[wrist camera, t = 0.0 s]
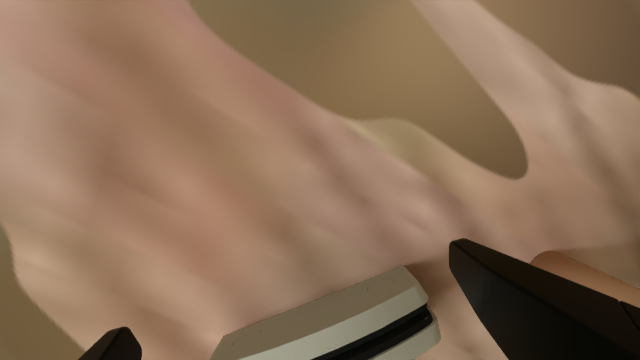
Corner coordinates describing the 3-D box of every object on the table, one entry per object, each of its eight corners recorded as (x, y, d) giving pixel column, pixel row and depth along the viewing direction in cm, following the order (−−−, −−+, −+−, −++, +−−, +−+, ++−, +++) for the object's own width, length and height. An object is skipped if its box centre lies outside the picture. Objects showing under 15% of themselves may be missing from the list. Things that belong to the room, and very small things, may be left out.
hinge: (243, 385, 26) (196, 482, 16) (226, 330, 27) (172, 391, 17) (422, 313, 27) (482, 363, 17) (401, 262, 28) (447, 281, 18)
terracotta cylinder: (551, 297, 28) (672, 374, 19) (519, 281, 28) (630, 353, 19) (574, 261, 28) (709, 322, 19) (542, 243, 27) (667, 299, 18)
